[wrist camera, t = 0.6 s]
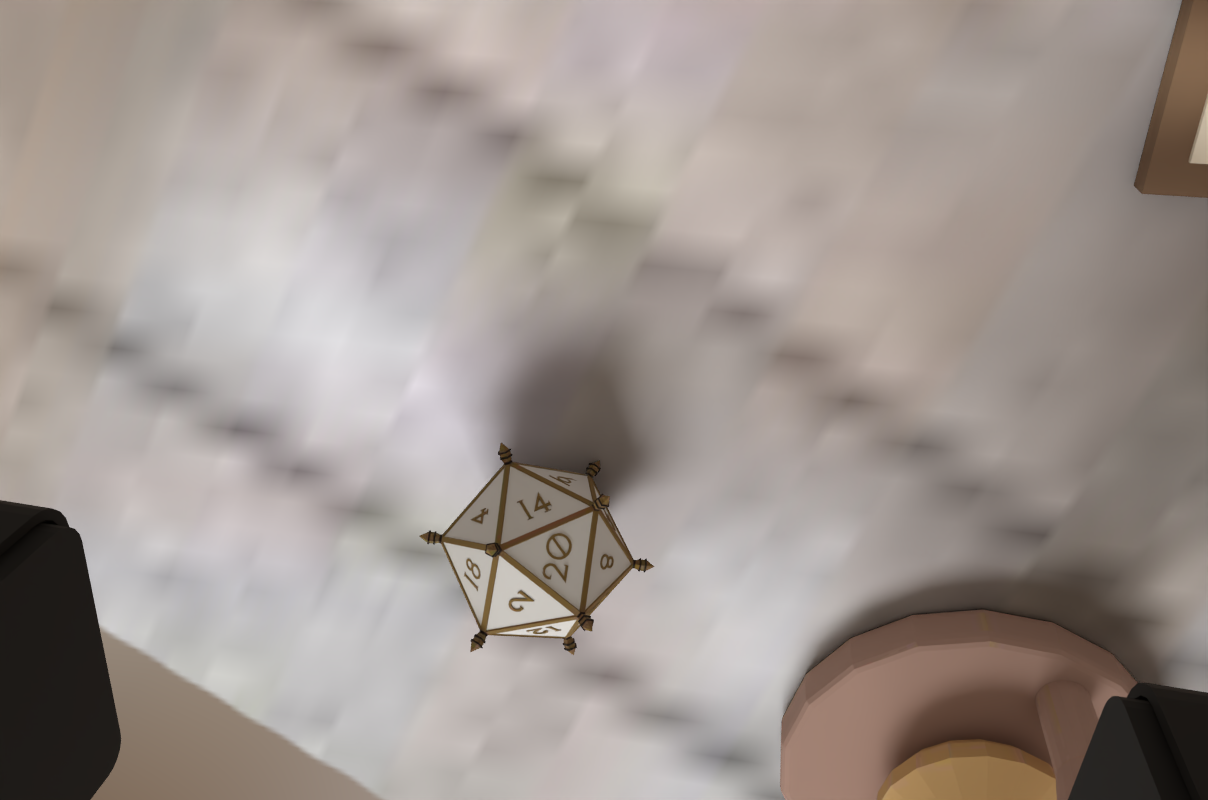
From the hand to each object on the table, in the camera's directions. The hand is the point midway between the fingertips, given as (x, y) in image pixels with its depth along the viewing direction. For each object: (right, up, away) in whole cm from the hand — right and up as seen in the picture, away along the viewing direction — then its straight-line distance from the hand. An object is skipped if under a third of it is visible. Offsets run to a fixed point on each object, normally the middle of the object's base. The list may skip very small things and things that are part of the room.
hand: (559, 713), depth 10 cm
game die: (-2, -2, +38) cm, 38 cm away
